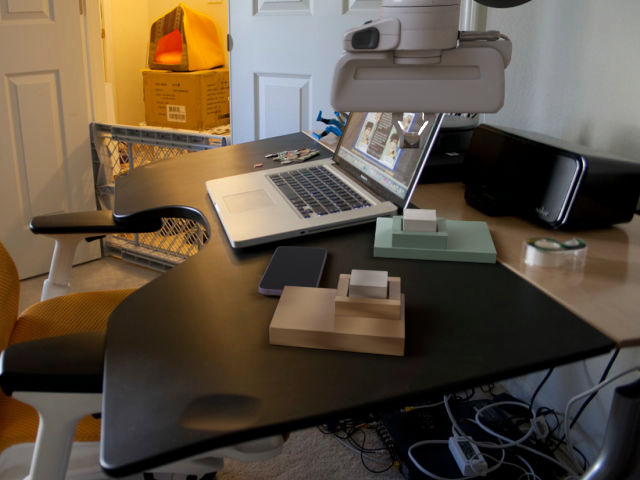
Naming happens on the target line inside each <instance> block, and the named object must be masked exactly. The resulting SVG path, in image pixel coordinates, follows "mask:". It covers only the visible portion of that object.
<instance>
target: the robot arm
mask: <svg viewBox="0 0 640 480" xmlns="http://www.w3.org/2000/svg"><path fill="white" fill-rule="evenodd" d="M473 2H475V3H477V4H480V5H481V6H485V7H488V8H492V9H510V8H516V7H519V6H522V5H525V4H527V3H530V2H532V0H473ZM461 3H462V0H381V3H380V5H381V6H380V15H379V18H378V19H374V20H372V19H370V20H367V21H364V23H362V24H360V25H356V26H353V27H351V28H349V29H347V30H345V31H344V32H343V33H342V35H341V47H342V49H343V52H342V53H341V54H340V55H339V56H338V58H337V60H336V61H335V63H334V67H333V72H332V77H331V82H330V94H329V106H330V107H331V108H332V110H334V112H336V113H366V114H367V113H371V114H372V113H375V114H376V113H378V114H379V113H380V114H383V113H384V114H385V113H386V114H391V124H392V125H393V127H394V129H395V131H396V132H397V135H398V136H399V145H398V148H399V150H424V146H425V136H427V134H428V132H429V131H430V130H431V128H432V127H433V125H434V124H435V123H436V114H481V115H482V114H483V115H484V114H485V115H486V114H490V115H491V114H493V115H495V114H498V113H499V111H500V110H501V109H502V108H503V107H504V105H505V97H506V75H505V73H506V72H505V70H506V69H507V68H508V66H509V65H510V63H511V60H512V53H513V42H512V40H511V39H510V38H509V37H508V36H507V35H505V34H503V33H501V31H500V30H497V29H496V30H495V29H489V30H482V31H480V30H459V29H460V16H461ZM500 38H501V39H503V40H500ZM405 114H422V122H423V125H422V126H421V127H420V129H419V131H418V132H408V131H406V130H405V128H404V126H403V124H402V122H404V115H405Z"/></svg>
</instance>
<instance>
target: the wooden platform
mask: <svg viewBox="0 0 640 480" xmlns="http://www.w3.org/2000/svg"><path fill="white" fill-rule="evenodd" d="M350 279H351V274H349V273H340V274H339V277H338V282H337V288H325V287H318V288H311V287H296V286H285V287H284V289H283V292H282V295H281V296H280V298H279V300H278V303H277V305H276V308H275V310H274V313H273V316H272V319H271V322H270V324H269V327H268V328H269V329H268V331H269V345H271V346H272V345H273V346H285V347H294V348H295V347H296V348H307V349H319V350H329V351H340V352H341V351H342V352H351V353H352V352H353V353H363V354H374V355H375V354H377V355H387V356H399V357H404V356H405V341H406V311H405V309H406V307H405V306H406V305H405V302H406V301H405V300H406V299H405V298H406V297H405V296H406V295H405V293H403V292H402V293H401V277H399V276H388V280H387V299H374V298H359V297H349V285H350Z"/></svg>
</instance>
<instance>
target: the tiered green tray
mask: <svg viewBox="0 0 640 480" xmlns="http://www.w3.org/2000/svg"><path fill="white" fill-rule="evenodd" d="M436 217H437V228H436V232H415V231H403V215H392V217H376V225H375V234H374V235H375V236H374V244H373V257H374V258H389V259H391V258H392V259H405V260H407V259H410V260H426V261H428V260H429V261H443V262H444V261H446V262H461V263H462V262H464V263H481V264H482V263H483V264H497V256H498V253H497V249H496V246H495V244H494V241H493V240H494V239H493V238H492V235H491V231H490V229H489V226H488V223H487V221H479V220H478V221H476V220H474V221H473V220H453V219H451V220H449V219H446V218H445V216H444V217H443V216H441V217H440V216H436Z"/></svg>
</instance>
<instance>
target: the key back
mask: <svg viewBox="0 0 640 480" xmlns="http://www.w3.org/2000/svg"><path fill="white" fill-rule="evenodd" d="M402 213H403V214H402V216H403V231H415V232H436V228H437V217H438V216H437V210H436V209H423V208H421V209H420V208H419V209H418V208H403V212H402Z"/></svg>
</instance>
